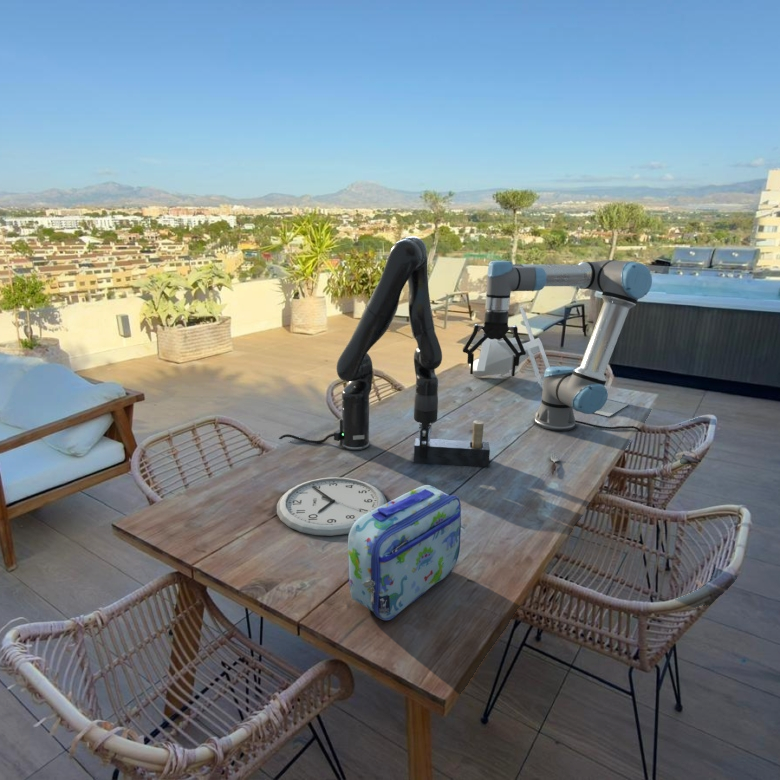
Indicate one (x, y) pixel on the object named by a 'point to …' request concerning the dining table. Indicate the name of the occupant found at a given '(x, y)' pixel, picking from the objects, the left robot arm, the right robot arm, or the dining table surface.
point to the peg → (477, 434)
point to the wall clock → (328, 505)
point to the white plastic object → (507, 355)
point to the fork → (554, 461)
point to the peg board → (453, 453)
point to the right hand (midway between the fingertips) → (491, 374)
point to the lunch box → (403, 549)
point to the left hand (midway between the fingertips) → (424, 452)
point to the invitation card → (610, 408)
